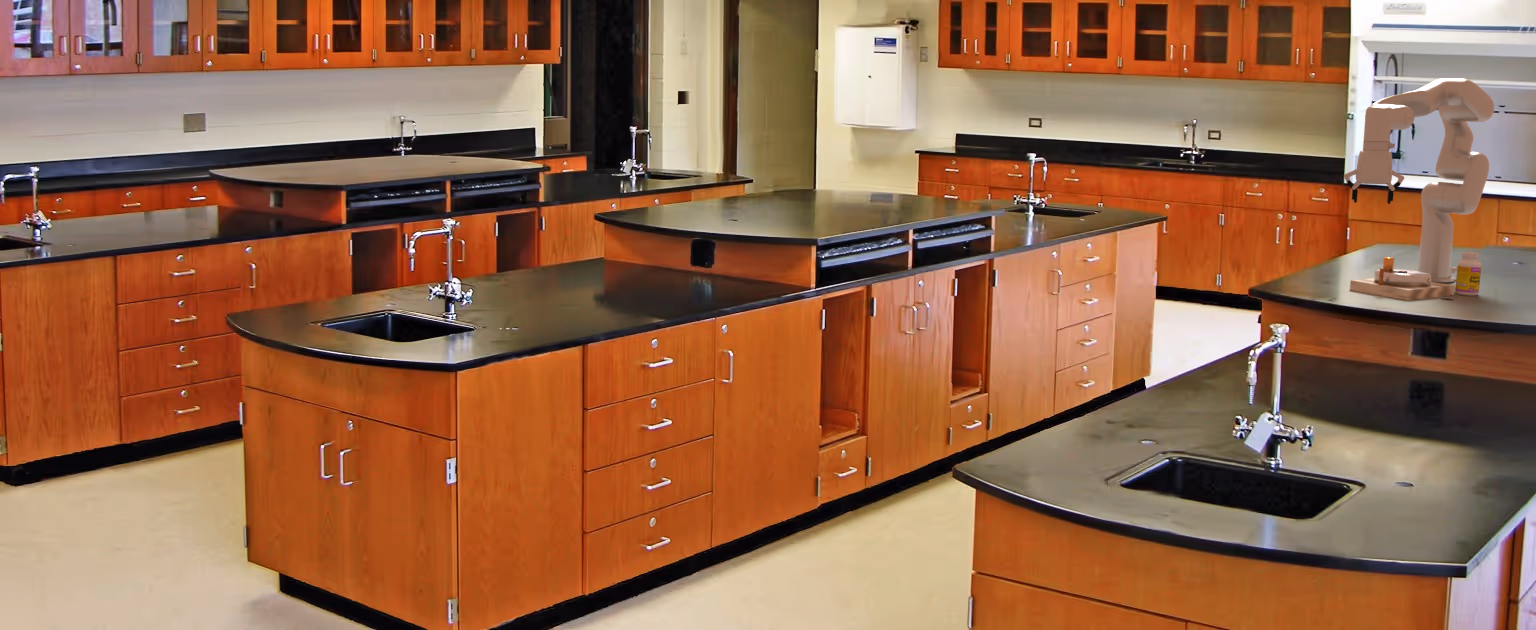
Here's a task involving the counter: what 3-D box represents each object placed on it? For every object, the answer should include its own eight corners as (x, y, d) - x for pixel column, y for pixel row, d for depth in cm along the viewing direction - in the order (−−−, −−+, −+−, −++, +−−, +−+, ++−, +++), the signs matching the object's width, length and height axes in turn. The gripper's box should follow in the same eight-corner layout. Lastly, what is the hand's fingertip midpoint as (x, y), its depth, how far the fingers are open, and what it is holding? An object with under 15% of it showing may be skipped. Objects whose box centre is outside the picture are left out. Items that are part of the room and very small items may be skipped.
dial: (1441, 284, 472) (1444, 262, 471) (1407, 288, 464) (1409, 265, 463) (1397, 277, 486) (1399, 255, 484) (1362, 280, 478) (1364, 258, 477)
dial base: (1395, 285, 490) (1397, 260, 488) (1453, 295, 472) (1456, 269, 470) (1349, 289, 479) (1351, 264, 478) (1407, 300, 461) (1410, 273, 460)
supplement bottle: (1468, 296, 470) (1472, 254, 467) (1449, 293, 475) (1453, 251, 473) (1483, 295, 473) (1487, 253, 470) (1464, 292, 478) (1468, 250, 476)
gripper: (1405, 146, 475) (1401, 202, 478) (1345, 145, 480) (1341, 200, 483) (1407, 148, 468) (1403, 205, 471) (1346, 147, 473) (1342, 203, 476)
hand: (1371, 202), depth 477 cm, fingers open, 9 cm apart
